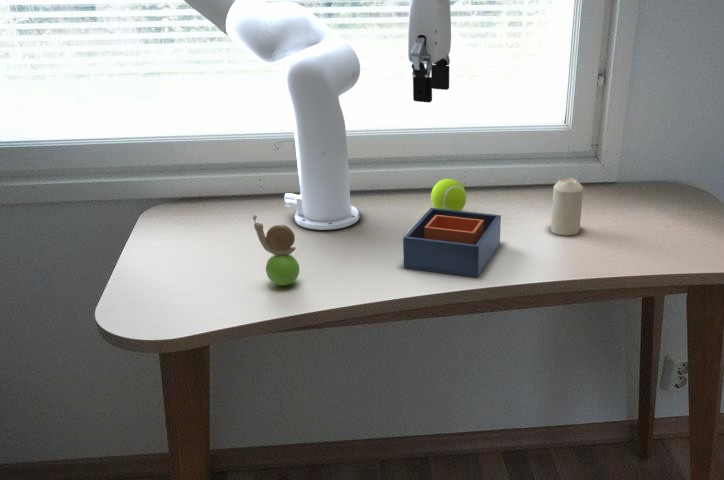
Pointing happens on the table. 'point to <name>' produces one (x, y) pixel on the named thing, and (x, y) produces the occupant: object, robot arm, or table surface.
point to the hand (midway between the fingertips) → (431, 95)
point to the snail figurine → (279, 253)
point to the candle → (566, 207)
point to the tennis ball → (448, 195)
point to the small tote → (454, 229)
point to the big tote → (451, 246)
